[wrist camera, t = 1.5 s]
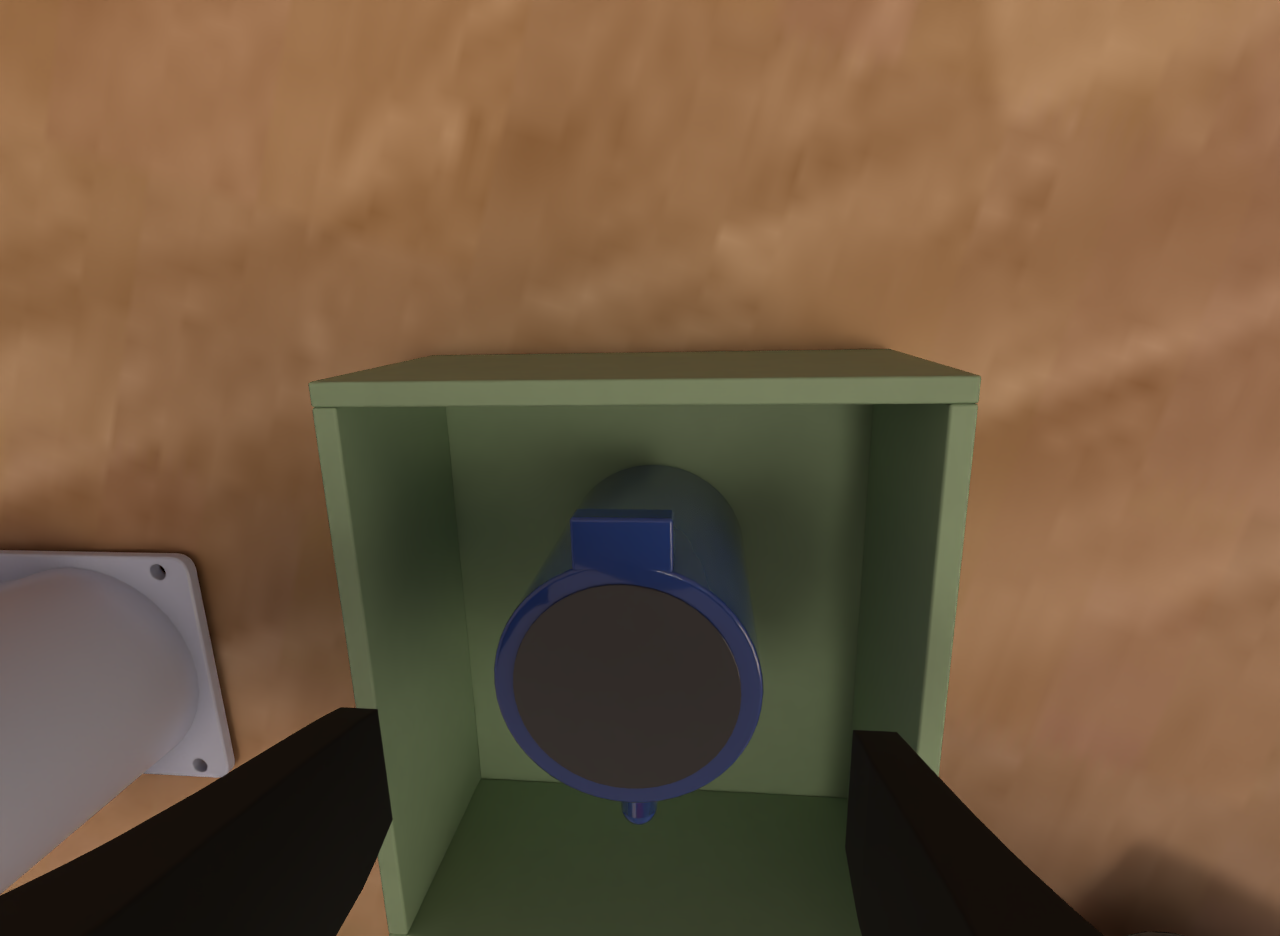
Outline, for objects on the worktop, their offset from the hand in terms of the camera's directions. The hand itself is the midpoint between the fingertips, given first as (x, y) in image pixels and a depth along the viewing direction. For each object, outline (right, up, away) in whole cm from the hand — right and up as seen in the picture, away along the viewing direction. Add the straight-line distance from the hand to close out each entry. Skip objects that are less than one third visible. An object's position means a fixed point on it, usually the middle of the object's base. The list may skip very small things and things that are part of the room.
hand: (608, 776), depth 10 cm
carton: (+1, +1, +10) cm, 10 cm away
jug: (+1, +2, +9) cm, 9 cm away
